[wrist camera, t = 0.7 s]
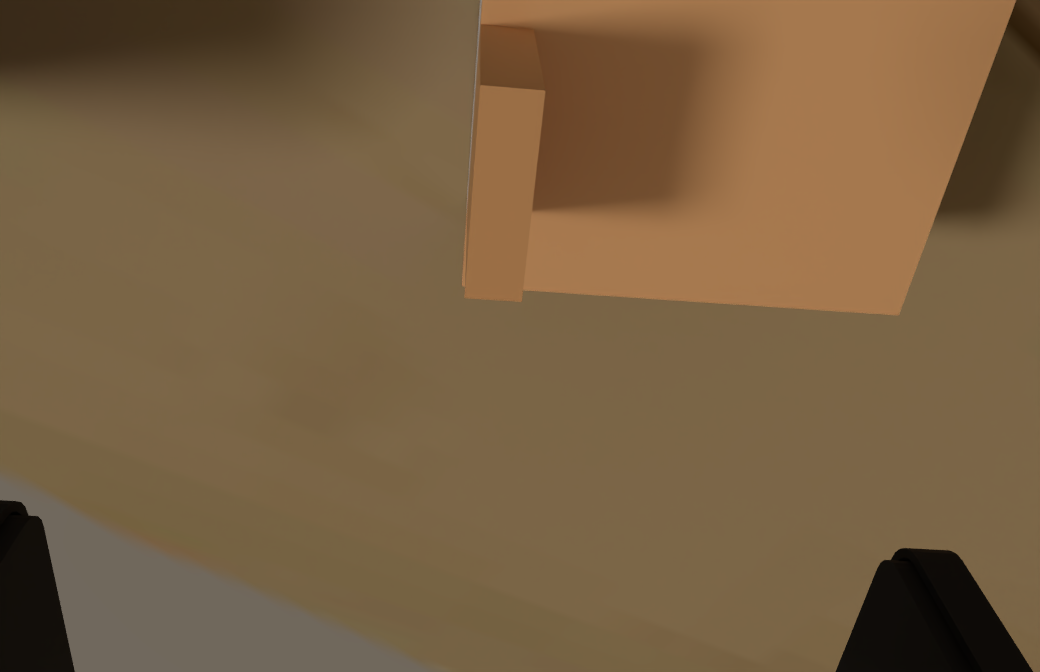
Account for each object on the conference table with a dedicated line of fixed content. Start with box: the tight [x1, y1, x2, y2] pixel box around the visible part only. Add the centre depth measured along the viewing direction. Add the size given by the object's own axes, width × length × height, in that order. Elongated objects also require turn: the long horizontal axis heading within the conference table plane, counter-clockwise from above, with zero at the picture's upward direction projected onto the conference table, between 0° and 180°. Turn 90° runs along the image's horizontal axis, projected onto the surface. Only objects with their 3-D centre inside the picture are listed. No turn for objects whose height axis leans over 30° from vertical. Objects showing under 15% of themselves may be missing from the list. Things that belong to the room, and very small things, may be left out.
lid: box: [462, 0, 1016, 315], centre depth 28 cm, size 12×16×8 cm
